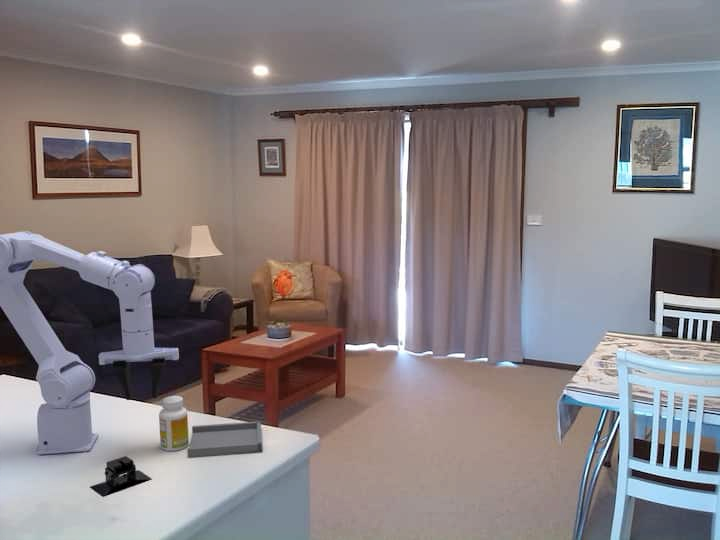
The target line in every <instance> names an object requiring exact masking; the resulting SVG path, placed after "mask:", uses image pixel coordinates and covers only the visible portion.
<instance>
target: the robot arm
mask: <svg viewBox="0 0 720 540" xmlns="http://www.w3.org/2000/svg"><path fill="white" fill-rule="evenodd" d="M36 260H42V261H44V262H47V263H51V264H53V265H56V266H61V267H63V268H67V269H69V270H73V271H77V272H78V273H79V276H80V278H81V279H82V280H83V281H85V282H88V283H91V284H93V285H97V286H99V287H102V288H104V289H108V290H110V291H113V293H114V294H115V296H116V297H117V298H118V302H119V310H120V324H121V337H122V339H121V340H122V349H120V350H114V351H113V350H112V351H105V352H100V353H99V354H98V365H99V366H102V365H103V366H104V365H107V364H112V367H111V368H112V372H113V373H114V375H115V376H116V378H117V380H118V381H119V383H120V384H121V386H122V390H123V393H124V395H125V400H126V401H131V400H132V397H133V390H132V389H133V388H132V382H131V363H133V362H134V363H135V362H138V363H139V362H149V361H150V362H151V363H150V365H149V366H150V374H151V383H152V385H151V387H152V391H151V394H152V399H157V398H158V396H159V386H160V385H159V384H160V380H161V376H162V374H163V370H164V368H165V365H166V362H167V360H172V361H178V360H179V358H180V353H179V352H180V351H179V348H178V347H155V339H154V338H155V337H154V334H155V333H154V322H153V321H154V320H153V308H152V307H153V306H152V293H151V291H152V290H153V288H154V286H155V283H156V281H155V280H156V278H155V275H154V273H153V271H152V270H151V269H150V268H149V267H147V266H146V265H144V264H142V263H139V264H133V265H132V266H131V264H130V262H129V261H128V260H122V261H121V260H118V259H115V258H113V257H110V256H107V251H103V250H99V251H97V252H96V251H92V252H89V253H88V254H87V253H86V254H84V253H81V252H80V251H79V252H78V251H76V250H74V249H72V248H69V247H67V246H65V245H62V244H60V243H57V242H55V241H54V240H53V241H52V240H50V239H49V238H45V237H44V236H42V235H41V234H39V233H38V234H37V233H33V232H30V231H27V230H19V231H16V232H11V233H3V234H0V308H1V309H2V311H3V312H4V314H5V316H6V317H7V318H8V320H9V321H10V323H11V325H12V326H13V328H14V329H15V330H16V332H17V335H18V336H19V337H20V339H22V341H23V344H24V345H25V346H26V348H27V349H28V351H29V352H30V354H31V355H32V356H33V357H32V358H34V360H35V362H36V363H37V365H38V369H37V373H36V376H35V380H36V382H37V383H38V384H39V386H40V392H41V397H42V398H43V401H44V402H45V403H41V404H40V405H39V407H38V410H37V415H36V425H37V426H36V428H37V437H38V438H37V441H38V451H37V454H38V455H49V454H50V455H51V454H64V453H66V454H67V453H80V452H90V451H91V449H92V447H93V446H94V444H95V443H96V441H97V439H98V438H99V433H93V426H92V424H93V423H92V411H91V408H92V407H91V398H90V397H91V390H92V389H93V388H94V386H95V383H96V376H95V372H94V370H93V369H92V368H91V367H90V366H89V365H88V364H86V363H84V362H83V361H82V360H81V358H80V357H79V355H78V354H75V353H73V352H70V351H69V350H66V348H65V347H64V345H63V343H62V342H61V340H60V339H59V337H58V335H56V333H55V331H54V330H53V328H52V327H51V325H50V324H49V322H48V320H47V319H46V317H45V316H44V314H43V312H42V310H40V308H39V307H38V304H36V302H35V300H34V299H33V297H32V295H31V294H30V292H29V291H28V290H27V288H26V287H25V285H24V280H25V277H26V274H27V272H28V271H29V269H30V268H31V267H32V265H33V263H34V262H35V261H36Z"/></svg>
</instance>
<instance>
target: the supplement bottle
mask: <svg viewBox="0 0 720 540" xmlns="http://www.w3.org/2000/svg"><path fill="white" fill-rule="evenodd" d="M161 407H162V409H161V410H160V411H159V413H158V420H159V438H160V439H159V443H160V448H161V450H164V451H166V452H175V451H181V450H184V449H185V448H188V447H189V445H190V441H189V423H188V420H189V419H188V410H187V408H186V407H184V398H183V397H182V396H180V395H171V396H167V397H164V398H162V400H161Z"/></svg>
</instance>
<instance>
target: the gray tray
mask: <svg viewBox="0 0 720 540" xmlns="http://www.w3.org/2000/svg"><path fill="white" fill-rule="evenodd" d="M191 428H192V429H191V431H192V434H191V437H190V441H189V446H188V447H187V450H186V451H187V458H197V457H198V458H200V457H211V456H212V457H213V456H226V454H228V455H238V454H251V453H252V454H253V453H262V452H263V443H262V442H263V441H262V422H261V421H245V422H232V423H217V424H202V425H192V427H191Z"/></svg>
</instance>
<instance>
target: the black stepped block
mask: <svg viewBox="0 0 720 540" xmlns="http://www.w3.org/2000/svg"><path fill="white" fill-rule="evenodd" d="M134 462H135V461H134V460H133V459H132V458H130V457H128V456H126V455H125V456H122V457H118V458H115V459H113V460H109V461H106V463H105V464H106V467H105V468H104V475H105V481H102V482H99V483H96V484H94V485H91V486H89V489H91V490H93V491H94V492H95V493H97V494H98V495H100V496H101V497H102V498H105V497H107V496H110V495H113V494H116V493H119V492H121V491H124V490H126V489H130V488H133V487H135V486H138V485H141V484H143V483H146V482H149V481H152V480H153V478H151V477H150V476H148V475H147V474H146V473H144V472H143V471H141V470H140V469H137V467H136V465H135V464H134Z"/></svg>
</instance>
